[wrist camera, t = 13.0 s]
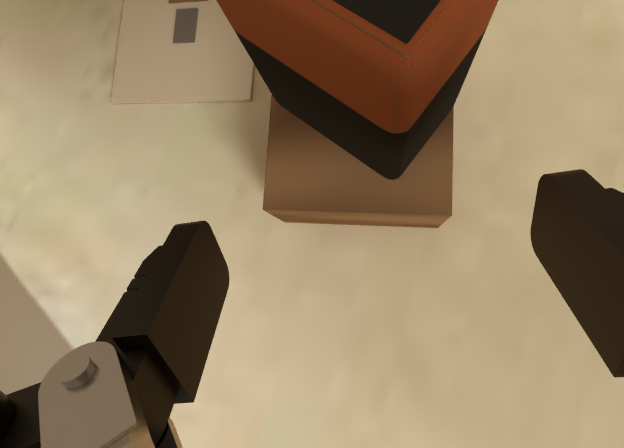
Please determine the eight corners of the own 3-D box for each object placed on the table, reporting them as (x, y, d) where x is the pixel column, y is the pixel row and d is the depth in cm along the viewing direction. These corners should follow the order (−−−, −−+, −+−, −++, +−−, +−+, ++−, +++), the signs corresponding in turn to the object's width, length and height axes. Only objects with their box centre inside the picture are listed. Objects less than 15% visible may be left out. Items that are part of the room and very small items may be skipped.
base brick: (296, 50, 22) (278, 2, 18) (441, 44, 21) (455, -10, 17) (284, 222, 21) (262, 209, 17) (437, 227, 20) (451, 215, 16)
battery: (393, 187, 16) (413, 53, 7) (272, 103, 18) (141, -109, 8) (456, 105, 16) (569, -151, 7) (330, 27, 18) (268, -276, 8)
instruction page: (135, -70, 26) (132, -74, 25) (266, -84, 24) (265, -88, 24) (112, 103, 24) (109, 101, 24) (251, 100, 22) (249, 98, 22)
